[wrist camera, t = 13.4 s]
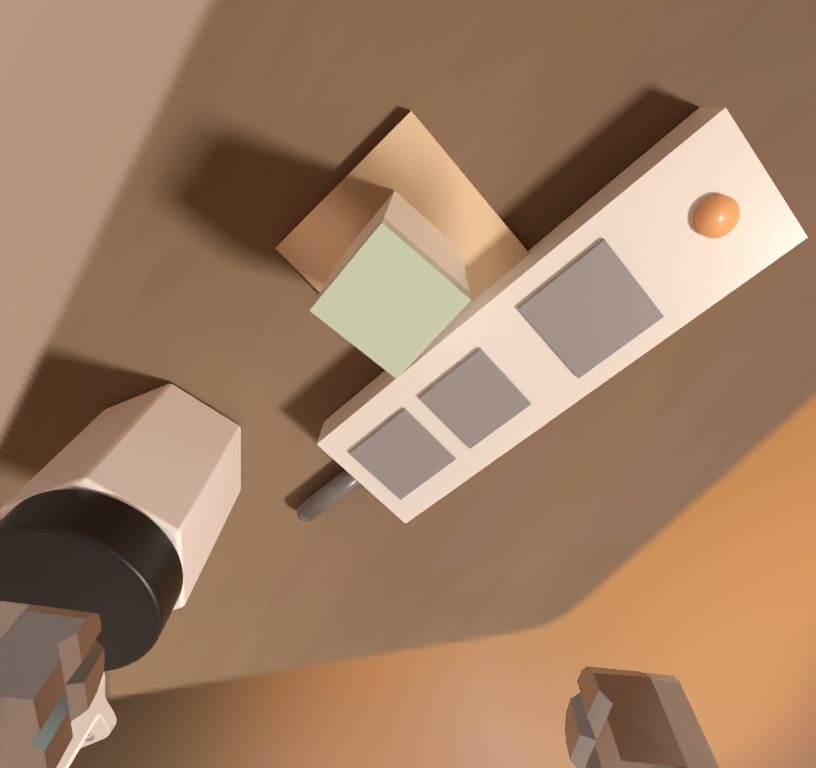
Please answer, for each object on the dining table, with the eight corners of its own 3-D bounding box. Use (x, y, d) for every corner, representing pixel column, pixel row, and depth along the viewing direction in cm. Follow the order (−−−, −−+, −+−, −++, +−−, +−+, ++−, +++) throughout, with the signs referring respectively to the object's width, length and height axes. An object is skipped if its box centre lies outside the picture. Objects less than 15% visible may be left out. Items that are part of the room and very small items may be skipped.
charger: (404, 312, 30) (396, 379, 23) (339, 258, 29) (309, 310, 22) (461, 250, 28) (471, 300, 21) (394, 190, 27) (382, 222, 20)
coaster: (400, 368, 32) (400, 373, 31) (278, 245, 29) (274, 248, 29) (533, 258, 29) (535, 261, 29) (411, 110, 26) (410, 110, 26)
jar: (77, 455, 35) (-79, 613, 24) (136, 356, 32) (-12, 486, 21) (209, 530, 37) (119, 705, 26) (275, 443, 34) (205, 601, 24)
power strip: (342, 544, 37) (336, 576, 35) (259, 475, 35) (246, 503, 33) (777, 226, 28) (811, 238, 26) (699, 107, 26) (729, 107, 23)
